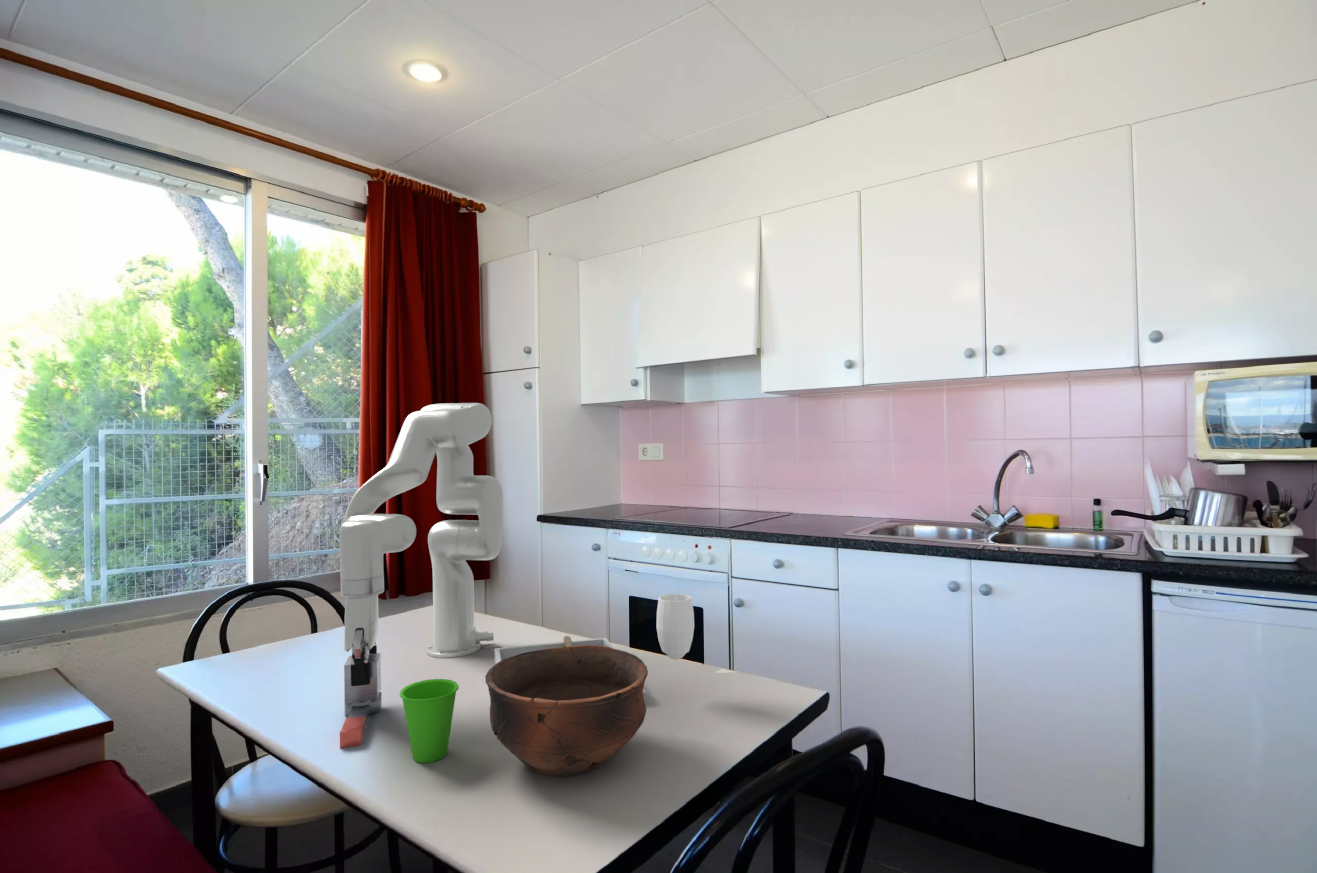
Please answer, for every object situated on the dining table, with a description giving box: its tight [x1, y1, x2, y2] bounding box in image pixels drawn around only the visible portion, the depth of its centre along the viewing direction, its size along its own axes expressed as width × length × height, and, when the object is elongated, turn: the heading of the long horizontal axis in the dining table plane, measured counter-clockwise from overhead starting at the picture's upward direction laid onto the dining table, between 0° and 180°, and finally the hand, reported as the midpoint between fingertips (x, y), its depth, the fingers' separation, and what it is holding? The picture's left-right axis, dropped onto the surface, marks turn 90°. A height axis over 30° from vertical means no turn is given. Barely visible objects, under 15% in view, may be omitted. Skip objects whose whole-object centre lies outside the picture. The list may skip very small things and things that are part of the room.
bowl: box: [484, 645, 649, 778], centre depth 105 cm, size 25×25×15 cm
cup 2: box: [655, 593, 695, 661], centre depth 127 cm, size 7×7×21 cm
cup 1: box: [399, 678, 460, 764], centre depth 108 cm, size 9×9×11 cm
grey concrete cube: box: [343, 652, 382, 704], centre depth 126 cm, size 6×6×7 cm
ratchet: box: [339, 691, 383, 749], centre depth 120 cm, size 18×6×6 cm, turn 16°
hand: (364, 675), depth 127 cm, fingers open, 9 cm apart
